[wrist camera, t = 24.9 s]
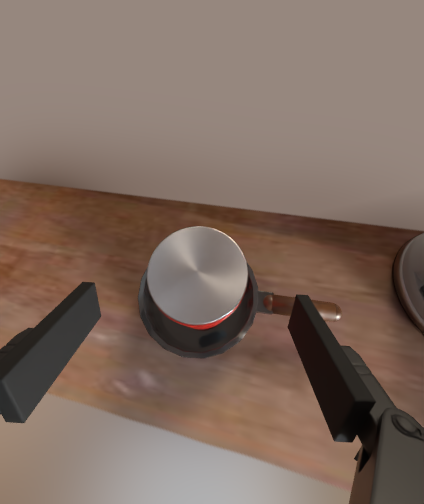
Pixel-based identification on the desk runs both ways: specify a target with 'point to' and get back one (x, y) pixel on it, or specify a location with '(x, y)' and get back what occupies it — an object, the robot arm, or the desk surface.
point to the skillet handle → (285, 305)
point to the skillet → (194, 340)
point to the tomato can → (197, 277)
